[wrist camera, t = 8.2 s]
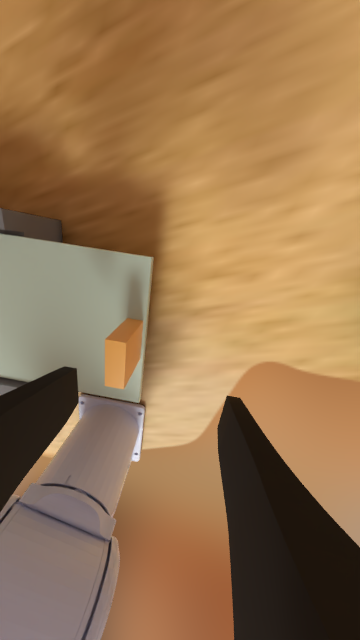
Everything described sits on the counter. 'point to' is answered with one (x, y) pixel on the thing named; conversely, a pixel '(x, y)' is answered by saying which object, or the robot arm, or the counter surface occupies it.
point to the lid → (74, 314)
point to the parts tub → (30, 228)
